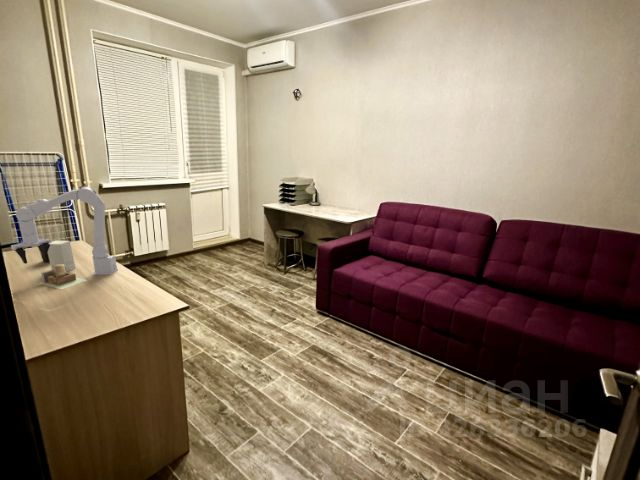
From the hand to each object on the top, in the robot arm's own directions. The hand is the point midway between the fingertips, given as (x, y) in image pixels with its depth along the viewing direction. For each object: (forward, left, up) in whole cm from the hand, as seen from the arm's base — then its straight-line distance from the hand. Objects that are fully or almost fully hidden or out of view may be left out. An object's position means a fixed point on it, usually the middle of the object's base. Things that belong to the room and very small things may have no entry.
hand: (35, 260), depth 159 cm
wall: (-7, 0, -10) cm, 12 cm away
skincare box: (-3, -14, -11) cm, 18 cm away
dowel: (-11, +2, -10) cm, 15 cm away
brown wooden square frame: (-11, +2, -10) cm, 15 cm away
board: (-12, +3, -10) cm, 17 cm away
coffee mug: (+12, -29, -11) cm, 33 cm away
